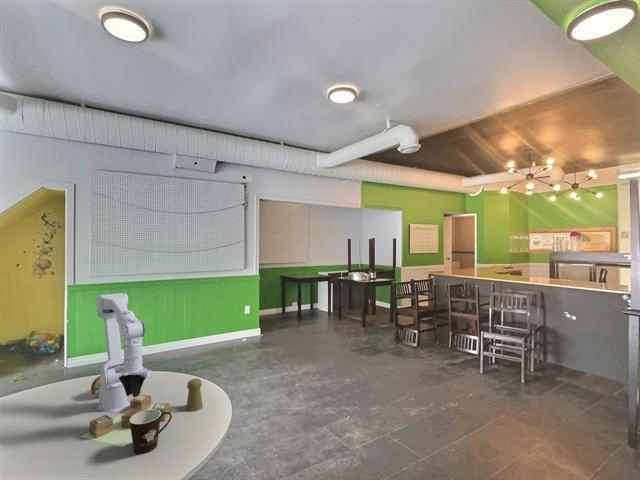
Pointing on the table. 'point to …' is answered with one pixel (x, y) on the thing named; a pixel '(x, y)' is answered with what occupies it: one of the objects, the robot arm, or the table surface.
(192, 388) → the cork
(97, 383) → the tin
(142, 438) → the coffee mug
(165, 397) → the table surface
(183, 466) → the table surface
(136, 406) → the tile block
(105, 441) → the mat
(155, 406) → the tile block
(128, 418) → the plain block
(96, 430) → the tile block
